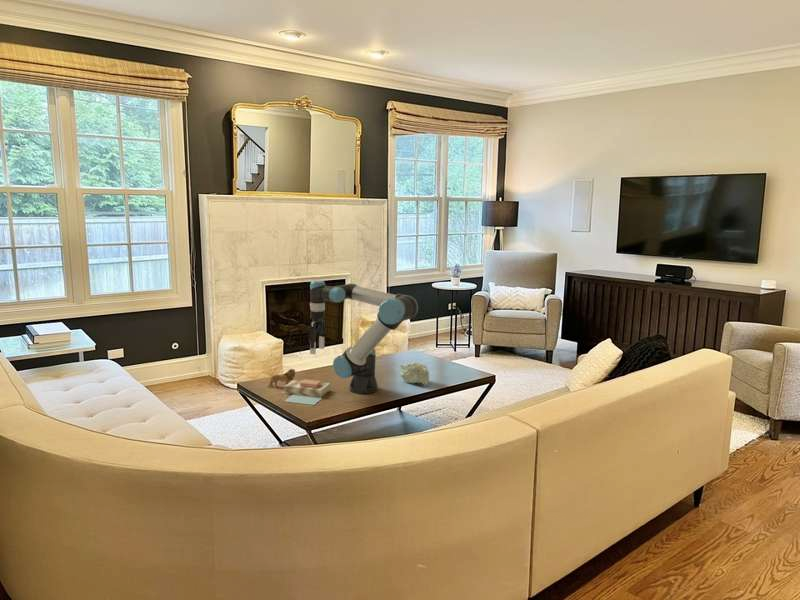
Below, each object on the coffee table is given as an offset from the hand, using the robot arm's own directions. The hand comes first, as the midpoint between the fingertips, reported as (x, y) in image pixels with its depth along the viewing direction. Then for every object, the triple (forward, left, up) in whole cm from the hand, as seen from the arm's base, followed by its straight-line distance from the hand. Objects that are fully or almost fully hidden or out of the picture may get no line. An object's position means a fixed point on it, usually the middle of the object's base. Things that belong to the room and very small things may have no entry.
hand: (317, 351), depth 305 cm
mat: (-1, +20, -20) cm, 28 cm away
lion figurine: (+18, +3, -20) cm, 28 cm away
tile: (0, +9, -16) cm, 18 cm away
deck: (+2, +8, -20) cm, 22 cm away
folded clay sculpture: (-47, -26, -20) cm, 57 cm away
